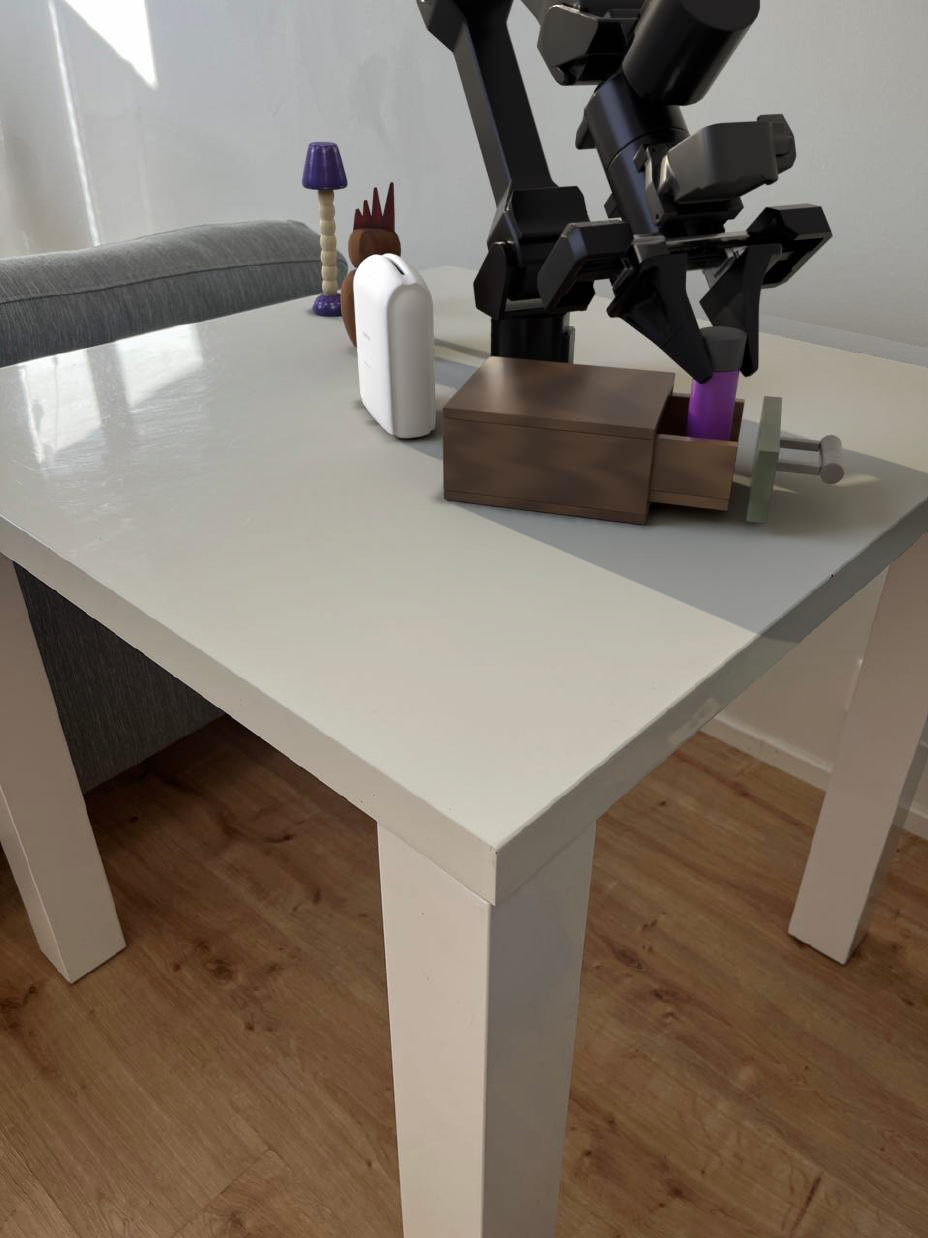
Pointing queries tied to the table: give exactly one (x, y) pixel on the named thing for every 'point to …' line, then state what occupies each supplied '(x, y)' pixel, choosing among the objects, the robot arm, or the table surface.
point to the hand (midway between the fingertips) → (729, 377)
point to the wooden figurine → (368, 248)
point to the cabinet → (555, 438)
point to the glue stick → (717, 385)
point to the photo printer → (395, 345)
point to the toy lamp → (326, 216)
